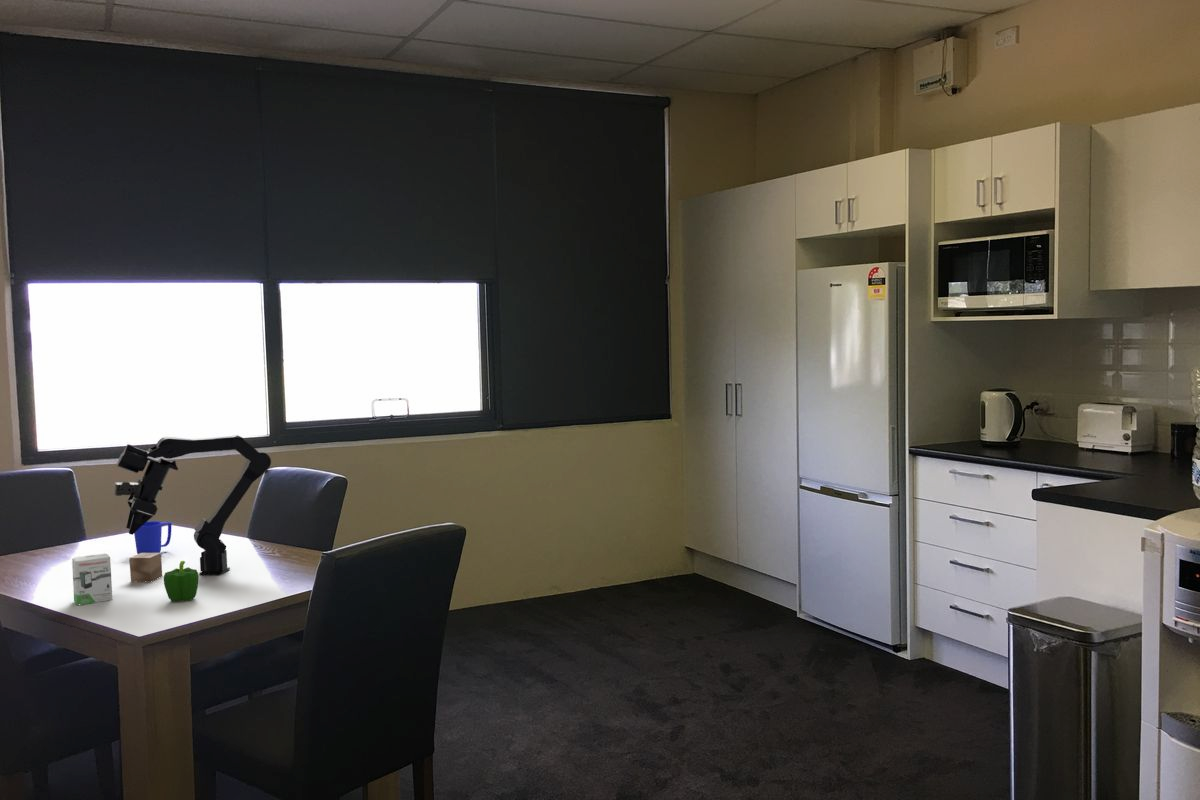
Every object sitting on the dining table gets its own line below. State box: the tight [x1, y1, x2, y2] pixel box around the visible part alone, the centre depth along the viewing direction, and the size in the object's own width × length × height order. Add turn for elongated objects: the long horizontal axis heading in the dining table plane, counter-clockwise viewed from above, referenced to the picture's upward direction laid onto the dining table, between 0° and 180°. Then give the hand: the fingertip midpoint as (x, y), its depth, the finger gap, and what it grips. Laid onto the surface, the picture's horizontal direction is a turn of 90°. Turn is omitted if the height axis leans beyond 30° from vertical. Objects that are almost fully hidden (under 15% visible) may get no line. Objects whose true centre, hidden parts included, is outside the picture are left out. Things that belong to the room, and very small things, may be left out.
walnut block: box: [129, 552, 163, 583], centre depth 276 cm, size 6×6×7 cm
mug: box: [133, 520, 172, 555], centre depth 307 cm, size 8×12×10 cm
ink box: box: [71, 553, 113, 606], centre depth 254 cm, size 9×5×12 cm, turn 126°
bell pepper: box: [163, 560, 199, 603], centre depth 254 cm, size 8×8×10 cm
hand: (129, 531), depth 270 cm, fingers open, 9 cm apart
